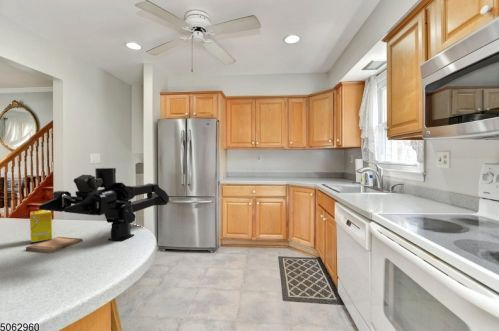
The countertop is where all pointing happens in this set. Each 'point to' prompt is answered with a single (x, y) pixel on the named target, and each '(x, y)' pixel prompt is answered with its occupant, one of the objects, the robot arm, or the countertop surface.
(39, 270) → the countertop surface
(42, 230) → the supplement box
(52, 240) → the marked board
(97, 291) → the countertop surface
